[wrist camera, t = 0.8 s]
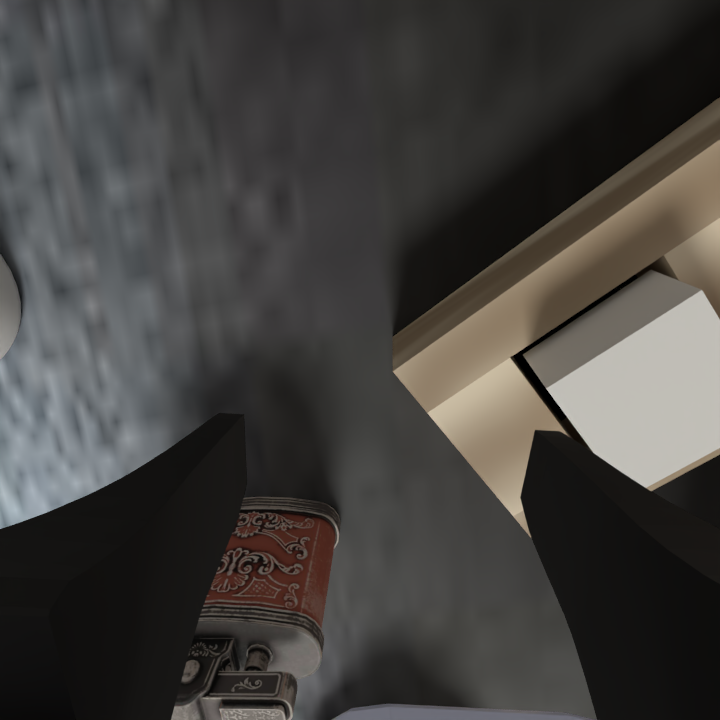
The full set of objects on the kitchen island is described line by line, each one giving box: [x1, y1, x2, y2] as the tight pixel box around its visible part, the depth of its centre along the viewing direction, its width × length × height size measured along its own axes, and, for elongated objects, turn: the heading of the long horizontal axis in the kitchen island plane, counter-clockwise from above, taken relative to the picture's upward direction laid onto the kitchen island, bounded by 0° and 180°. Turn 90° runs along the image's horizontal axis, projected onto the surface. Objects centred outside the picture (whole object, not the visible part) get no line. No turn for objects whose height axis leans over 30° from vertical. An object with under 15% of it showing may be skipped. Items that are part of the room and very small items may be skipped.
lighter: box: [171, 497, 341, 720], centre depth 21 cm, size 8×3×10 cm, turn 94°
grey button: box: [523, 270, 720, 488], centre depth 17 cm, size 5×5×3 cm
